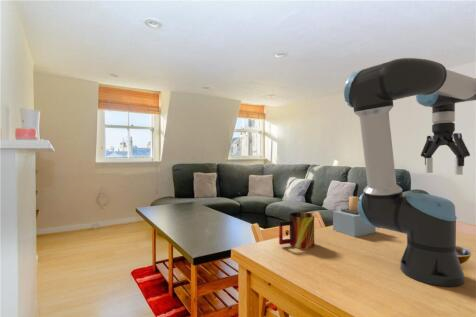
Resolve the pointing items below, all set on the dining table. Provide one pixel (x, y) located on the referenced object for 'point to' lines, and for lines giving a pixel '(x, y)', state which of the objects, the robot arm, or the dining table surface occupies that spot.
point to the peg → (353, 203)
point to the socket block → (351, 223)
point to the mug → (299, 230)
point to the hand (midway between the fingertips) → (442, 173)
